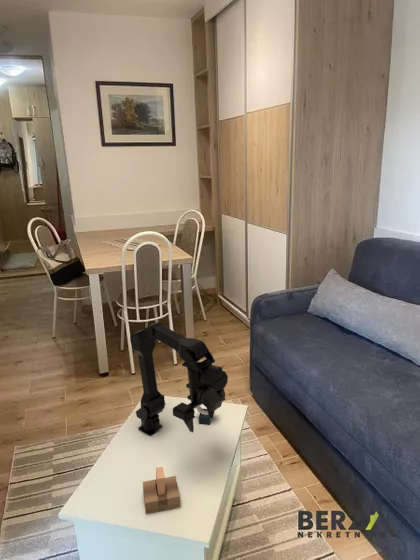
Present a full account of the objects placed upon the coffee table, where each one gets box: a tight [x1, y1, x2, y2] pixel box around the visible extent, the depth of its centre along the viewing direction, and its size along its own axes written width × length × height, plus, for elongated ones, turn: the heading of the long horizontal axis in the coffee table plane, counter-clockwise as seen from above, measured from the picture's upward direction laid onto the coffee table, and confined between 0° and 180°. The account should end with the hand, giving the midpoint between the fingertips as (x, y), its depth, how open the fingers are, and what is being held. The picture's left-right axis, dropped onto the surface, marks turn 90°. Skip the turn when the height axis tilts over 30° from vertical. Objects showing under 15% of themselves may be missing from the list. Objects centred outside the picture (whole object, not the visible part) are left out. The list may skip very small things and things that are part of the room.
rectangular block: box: [155, 466, 166, 497], centre depth 120 cm, size 4×2×10 cm, turn 14°
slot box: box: [142, 475, 181, 515], centre depth 121 cm, size 8×10×4 cm
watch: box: [195, 405, 212, 426], centre depth 155 cm, size 6×8×11 cm
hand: (201, 424), depth 131 cm, fingers open, 9 cm apart
